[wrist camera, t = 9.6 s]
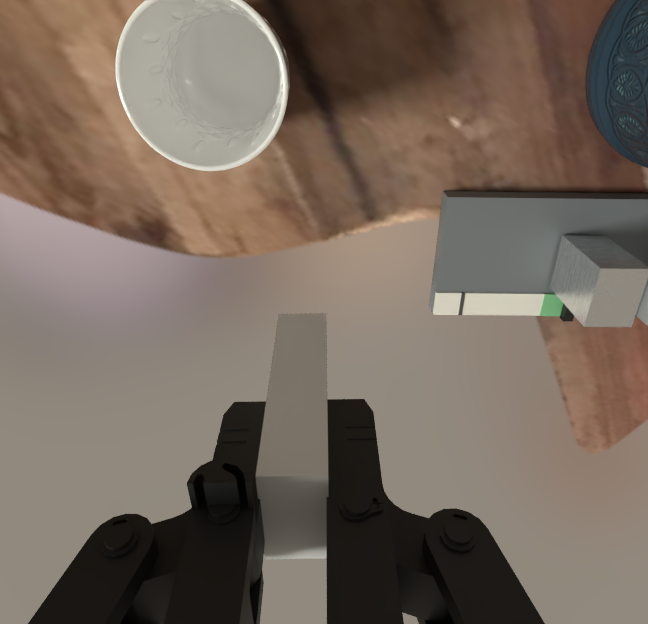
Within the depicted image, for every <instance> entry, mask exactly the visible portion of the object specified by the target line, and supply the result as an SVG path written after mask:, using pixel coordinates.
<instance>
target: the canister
mask: <svg viewBox="0 0 648 624" xmlns="http://www.w3.org/2000/svg"><path fill="white" fill-rule="evenodd" d="M586 96H587V102H588V107H589V111H590V114H591V117H592V119H593V121H594V123H595V125H596V127H597V129H598V130H599V132H600V133H601V135H602V136H603V137H604V138H605V139H606V140H607V142H608V143H609V144H610V145H611V146H612V147H613V148H614V149H615V150H616V151H617V152H618V153H620V154H621V155H622V156H624V157H625V158H627V159H629V160H631V161H633V162H635V163H637V164H639V165H641V166H644V167H646V168H648V0H615V2H614V3H613V4H612V6H611V7H610V9H609V11H608V12H607V14H606V16H605V17H604V19H603V21H602V23H601V25H600V27H599V29H598V32H597V34H596V36H595V39H594V42H593V45H592V48H591V51H590V55H589V59H588V65H587V72H586Z"/></svg>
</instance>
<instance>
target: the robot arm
mask: <svg viewBox="0 0 648 624" xmlns="http://www.w3.org/2000/svg"><path fill="white" fill-rule="evenodd" d="M187 486H188V491H189V496H190V500H191V505H192V508H191V509H190V510H188V511H187V512H185V513H183V514H181V515H179V516H176V517H174V518H171V519H167V520H164V521H161V522H157V523H154V524H151V523H150V522H149V520H148V519H147V518H145V517H143V516H141V515H138V514H124V515H120V516H117V517H113V518H112V519H110V520H108V521H106V522H105V523H103V524H102V525H100V526H99V527H98V528H97V529H96V530H95V532H94V533H93V534H92V535H91V536H90V538H89V539H88V540H87V542H86V543H85V544H84V546H83V547H82V549H81V550H80V551H79V553H78V554H77V556H76V557H75V558H74V560H73V561H72V563H71V564H70V565H69V567H68V568H67V570H66V571H65V572H64V574H63V576H62V577H61V578H60V580H59V581H58V582H57V584H56V585H55V587H54V588H53V589H52V591H51V592H50V594H49V595H48V596H47V598H46V599H45V601H44V602H43V603H42V605H41V606H40V608H39V609H38V611H37V612H36V613H35V615H34V616H33V617H32V619H31V620H30V622H29V623H28V624H260V614H261V603H262V594H263V584H264V583H263V574H262V564H263V554H265V559H309V558H310V559H313V558H327V624H404V623H403V615H402V612H403V613H406V614H409V615H412V616H415V617H417V619H418V622H419V624H545V623H544V622H543V620H542V618H541V617H540V615H539V613H538V612H537V610H536V608H535V607H534V605H533V603H532V602H531V600H530V598H529V597H528V595H527V593H526V592H525V590H524V588H523V587H522V585H521V583H520V582H519V580H518V578H517V577H516V575H515V573H514V572H513V570H512V568H511V567H510V565H509V563H508V562H507V560H506V558H505V557H504V555H503V553H502V552H501V550H500V548H499V547H498V545H497V543H496V542H495V540H494V538H493V537H492V535H491V533H490V532H489V530H488V528H487V527H486V526H485V525H484V524H483V523H482V521H481V520H480V519H478V518H477V517H475V516H474V515H472V514H471V513H469V512H466V511H463V510H459V509H443V510H441V511H438V512H436V513H434V514H433V515H432V516H431V517H430V518H425V517H422V516H418V515H415V514H411V513H409V512H406V511H403V510H402V509H400V508H399V507H397V506H396V505H394V504H393V503H392V502H391V501H390V500H389V499H388V497H387V495H386V494H385V492H384V489H383V485H382V478H381V470H380V462H379V454H378V446H377V438H376V430H375V422H374V415H373V411H372V410H371V408H370V407H369V405H368V404H367V403H366V401H365V400H364V399H347V400H346V399H342V400H338V399H337V400H327V336H326V313H322V314H279V315H278V322H277V330H276V337H275V343H274V351H273V357H272V365H271V371H270V378H269V385H268V392H267V400H266V402H234V403H233V404H232V406H231V407H230V408H229V409H228V410H227V412H226V413H225V414H224V415H223V420H222V424H221V428H220V433H219V436H218V440H217V445H216V448H215V452H214V457H213V460H212V461H210V462H208V463H206V464H204V465H202V466H200V467H199V468H198V469H197V470H195V471H194V472H193V473H192V475H191V476H190V478H189V480H188V482H187Z"/></svg>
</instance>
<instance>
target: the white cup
mask: <svg viewBox="0 0 648 624" xmlns="http://www.w3.org/2000/svg"><path fill="white" fill-rule="evenodd" d="M116 80H117V86H118V91H119V95H120V98H121V101H122V104H123V107H124V109H125V111H126V113H127V115H128V117H129V119H130V121H131V123H132V124H133V126H134V127H135V129H136V130H137V132H138V133H139V134H140V135H141V137H142V138H143V139H144V140H145V141H146V142H147V143H148V144H149V145H150V146H151V147H152V148H153V149H155V150H156V151H157V152H158V153H160V154H161V155H163V156H164V157H166V158H167V159H169V160H171V161H173V162H175V163H177V164H180V165H182V166H185V167H188V168H192V169H196V170H203V171H221V170H227V169H231V168H234V167H237V166H240V165H242V164H244V163H246V162H248V161H250V160H252V159H253V158H255V157H256V156H257V155H259V154H260V153H261V152H262V151H263V150H264V149H265V148H266V147H267V146H268V145H269V144H270V142H271V141H272V140H273V138H274V137H275V135H276V133H277V132H278V130H279V128H280V126H281V123H282V121H283V118H284V115H285V111H286V107H287V101H288V95H289V89H290V72H289V63H288V58H287V54H286V51H285V48H284V46H283V44H282V42H281V40H280V38H279V36H278V34H277V33H276V31H275V30H274V29H273V27H272V26H271V25H270V23H269V22H268V21H267V20H266V19H265V18H264V17H263V16H262V15H261V14H260V13H259V12H257V11H256V10H255V9H253V8H252V7H251V6H250V5H248V4H247V3H246V2H245V1H243V0H145V1H144V2H143V3H142V4H141V5H140V6H139V7H138V8H137V9H136V10H135V11H134V12H133V14H132V15H131V17H130V18H129V20H128V21H127V23H126V25H125V27H124V29H123V31H122V34H121V37H120V40H119V44H118V48H117V54H116Z"/></svg>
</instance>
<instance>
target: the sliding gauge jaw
mask: <svg viewBox="0 0 648 624" xmlns="http://www.w3.org/2000/svg"><path fill="white" fill-rule="evenodd" d="M647 280H648V266H646V265H645V264H644V263H642V262H641V261H639V260H638V259H637V258H635V257H634V256H633V255H631V254H630V253H628V252H627V251H626V250H624V249H623V248H622V247H620V246H619V245H617V244H616V243H615V242H613V241H612V240H610V239H609V238H608V237H606V236H576V235H562V238H561V242H560V246H559V251H558V255H557V259H556V263H555V267H554V271H553V275H552V279H551V284H550V289H551V290H552V291H553V292H554V293H555V294H556V295H557V297H558V298H559V299H560V300H561V301H562V302H563V307H562V310H561V314H560V318H561V319H562V321H573V318H574V316H575V317H576V318H577V319H578V320H579V321H580V323H581V324H582V325H583V326H584V327H632V324H633V321H634V318H635V315H636V312H637V309H638V306H639V303H640V300H641V297H642V294H643V291H644V288H645V286H646V283H647Z"/></svg>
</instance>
